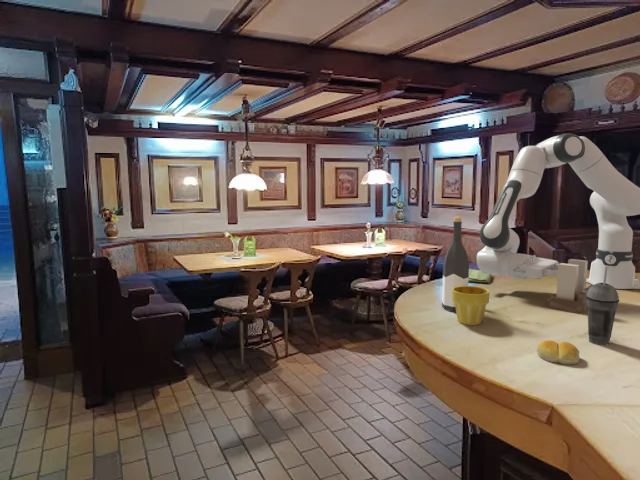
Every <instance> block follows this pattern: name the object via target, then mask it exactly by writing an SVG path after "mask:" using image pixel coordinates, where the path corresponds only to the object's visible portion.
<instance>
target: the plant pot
mask: <svg viewBox="0 0 640 480" xmlns="http://www.w3.org/2000/svg"><path fill="white" fill-rule="evenodd" d="M452 300H453V301H454V302H455V307H456V311H455V312H456V317H457V322H459V323H461V324H462V323H463V324H462V325H468V326H476V325H480V324H481V323H483V322H482V321H483V318H484V315H485V310H486V307H487V305H488V304H489V301H490V290H489V289H487V288H484V287H481V286H476V285H475V286H474V285H468V286H458V287H454V288H453V289H452Z"/></svg>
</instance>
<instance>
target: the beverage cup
mask: <svg viewBox="0 0 640 480" xmlns="http://www.w3.org/2000/svg"><path fill="white" fill-rule="evenodd" d="M606 276H607V267H605V273H604V281H603V283H597V284H595V285H593V284H592V285H593V286H592V287H590V289H589V290H588V292H587V296H586V298H587V305H588V309H587V328H588V329H587V330H588V331H587V333H588V334H587V336H588V342H589V343H591V344H594V345H598V346H608V345H610V341H611V337H612V334H613V333H612V332H613V328H614V321H615V317H616V311H617V309H618V306H619V302H620V299H619V297H620V296H619V293H618V291H617V290H616V289H615V288H614V287H613V286H611V285H609V284H607V283H606Z"/></svg>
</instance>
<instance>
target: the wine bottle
mask: <svg viewBox="0 0 640 480" xmlns="http://www.w3.org/2000/svg"><path fill="white" fill-rule="evenodd" d="M453 219H454V220H453V223H452V224H453V230H452V231H453V233H452V234H453V235H452V241H451V243H450V245H449V246H448V248H447V250H446V252H445V255H444V258H443V263H442V264H443V265H442V290H441V291H442V292H441V293H442V294H441V307H442V309H443V308H444V309H445V311H449V310H450V311H449V312H456V307H455V302H454V301H453V300H452V289H453V288H454V287H458V286H469V282H468V279H469V269H470V260H469V256H468V254H467V251H466V248H465V246H464V245H463V241H462V223H463V222H462V217H461V216H454V217H453ZM444 309H443V310H444Z"/></svg>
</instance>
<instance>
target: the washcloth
mask: <svg viewBox="0 0 640 480" xmlns="http://www.w3.org/2000/svg"><path fill="white" fill-rule="evenodd" d="M491 279H492V274H488V273H485V272H482V271H481V270H480V269H479V270H478V269H472V268H469V279H468V283H479V284H491Z"/></svg>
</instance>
